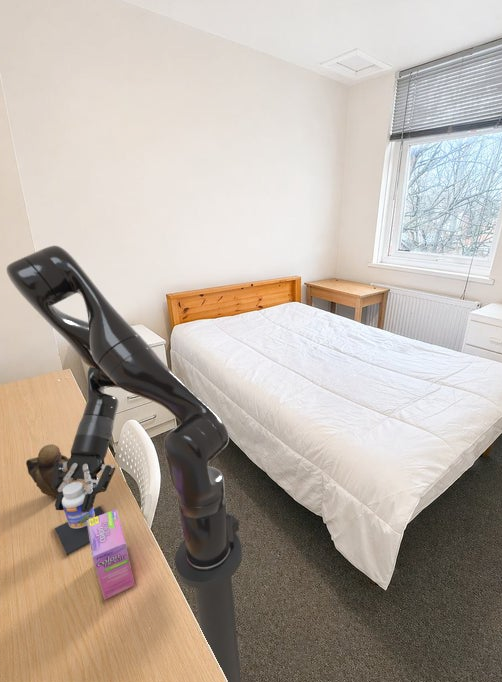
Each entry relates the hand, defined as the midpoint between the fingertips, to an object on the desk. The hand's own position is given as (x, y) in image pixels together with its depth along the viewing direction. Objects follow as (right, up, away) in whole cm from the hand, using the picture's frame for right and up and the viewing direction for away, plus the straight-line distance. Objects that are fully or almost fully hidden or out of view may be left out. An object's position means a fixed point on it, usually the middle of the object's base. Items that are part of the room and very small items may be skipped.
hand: (72, 510), depth 79 cm
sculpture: (-14, -2, +15) cm, 20 cm away
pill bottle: (0, -4, +4) cm, 5 cm away
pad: (0, -6, +4) cm, 8 cm away
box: (+13, -11, -6) cm, 18 cm away
